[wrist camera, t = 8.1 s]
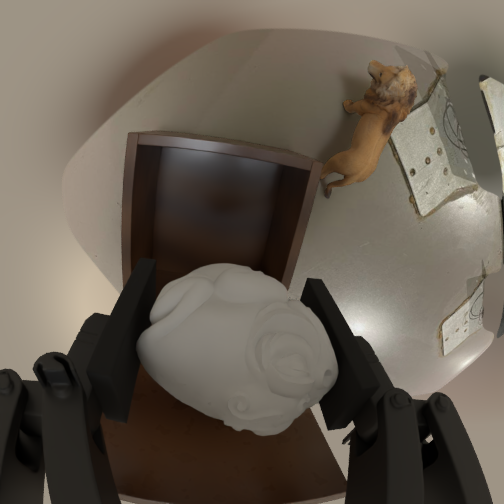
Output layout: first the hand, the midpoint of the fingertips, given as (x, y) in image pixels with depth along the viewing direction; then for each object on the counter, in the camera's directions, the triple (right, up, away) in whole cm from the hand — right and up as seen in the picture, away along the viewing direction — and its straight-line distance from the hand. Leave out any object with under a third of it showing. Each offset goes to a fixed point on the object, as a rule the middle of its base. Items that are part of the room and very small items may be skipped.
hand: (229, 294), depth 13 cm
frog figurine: (0, 0, 0) cm, 0 cm away
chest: (-3, +6, +15) cm, 17 cm away
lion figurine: (+11, +15, +12) cm, 22 cm away
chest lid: (-2, -6, +2) cm, 7 cm away
